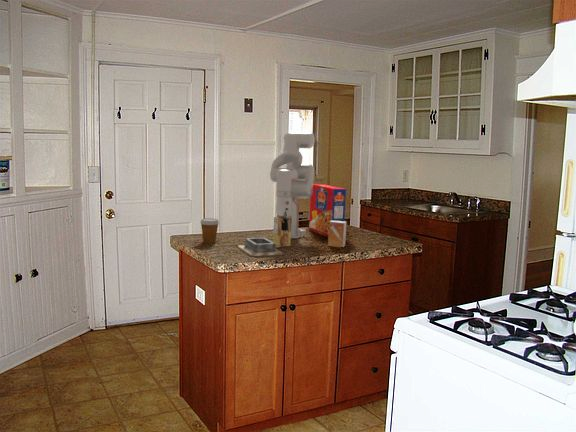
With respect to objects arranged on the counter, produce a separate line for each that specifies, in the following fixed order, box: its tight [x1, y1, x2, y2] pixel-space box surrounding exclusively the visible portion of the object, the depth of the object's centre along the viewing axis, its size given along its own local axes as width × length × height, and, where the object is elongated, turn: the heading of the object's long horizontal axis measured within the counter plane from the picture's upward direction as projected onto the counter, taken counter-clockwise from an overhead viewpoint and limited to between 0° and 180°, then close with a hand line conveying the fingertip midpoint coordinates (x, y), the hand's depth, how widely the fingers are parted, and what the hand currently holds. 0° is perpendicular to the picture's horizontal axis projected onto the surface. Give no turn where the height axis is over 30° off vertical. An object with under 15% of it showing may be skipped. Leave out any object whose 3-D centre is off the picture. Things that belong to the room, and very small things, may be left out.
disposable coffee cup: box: [200, 217, 220, 245], centre depth 284 cm, size 10×10×12 cm
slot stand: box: [237, 237, 283, 257], centre depth 269 cm, size 16×20×5 cm
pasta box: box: [308, 183, 347, 238], centre depth 322 cm, size 28×8×28 cm, turn 24°
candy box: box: [272, 216, 292, 248], centre depth 282 cm, size 9×4×15 cm, turn 129°
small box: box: [327, 220, 348, 248], centre depth 288 cm, size 8×6×13 cm
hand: (282, 228), depth 281 cm, fingers closed on candy box, 5 cm apart
